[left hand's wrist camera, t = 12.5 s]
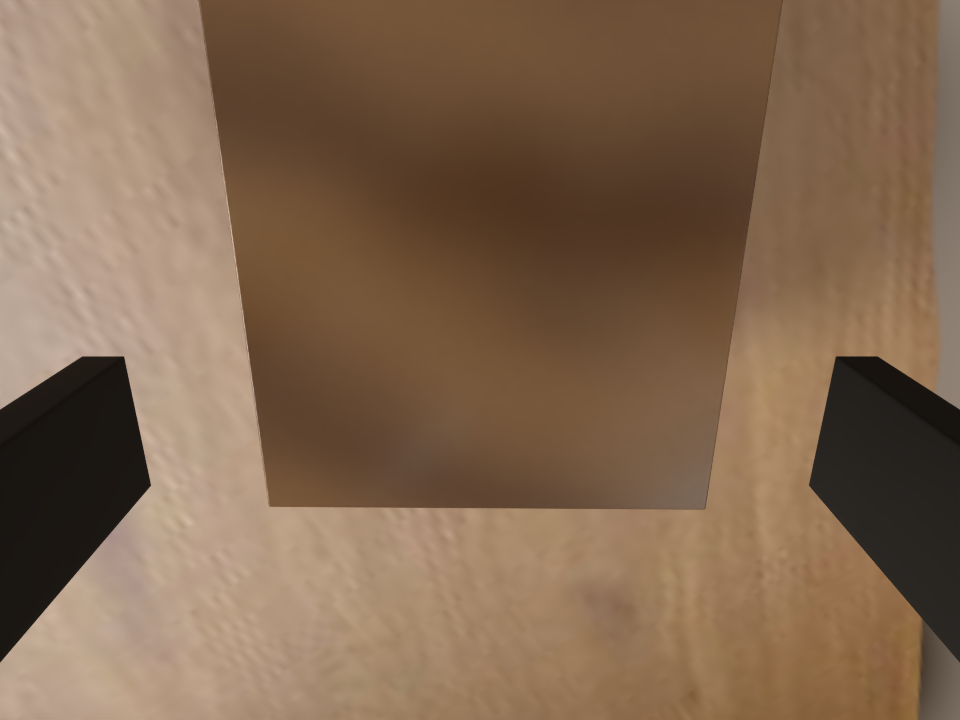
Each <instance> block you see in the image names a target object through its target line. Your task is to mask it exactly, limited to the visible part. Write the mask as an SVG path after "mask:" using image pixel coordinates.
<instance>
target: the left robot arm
mask: <svg viewBox="0 0 960 720" xmlns="http://www.w3.org/2000/svg"><path fill="white" fill-rule="evenodd" d="M150 486H151V483H150V478H149V474H148V469H147V464H146V459H145V455H144V450H143V445H142V440H141V435H140V431H139V426H138V421H137V416H136V412H135V407H134V402H133V397H132V392H131V388H130V383H129V378H128V373H127V369H126V364H125V359H124V357H81V358H79V359H78V360H76V361H75V362H73V363H72V364H70V365H69V366H67V367H65V368H64V369H62V370H61V371H59V372H58V373H56V374H55V375H53V376H52V377H50V378H48V379H47V380H45V381H44V382H42V383H41V384H39V385H38V386H36V387H35V388H33V389H31V390H30V391H28V392H27V393H25V394H24V395H22V396H21V397H19V398H18V399H16V400H14V401H13V402H11V403H10V404H8V405H7V406H5V407H4V408H2V409H1V410H0V662H1V661H2V660H3V659H4V657H5V656H6V655H7V654H8V653H9V651H10V650H11V649H12V648H13V647H14V646H15V644H16V643H17V642H18V641H19V640H20V639H21V637H22V636H23V635H24V634H25V633H26V632H27V630H28V629H29V628H30V627H31V626H32V624H33V623H34V622H35V621H36V620H37V619H38V617H39V616H40V615H41V614H42V613H43V612H44V610H45V609H46V608H47V607H48V606H49V605H50V603H51V602H52V601H53V600H54V599H55V598H56V596H57V595H58V594H59V593H60V592H61V590H62V589H63V588H64V587H65V586H66V585H67V583H68V582H69V581H70V580H71V579H72V578H73V576H74V575H75V574H76V573H77V572H78V571H79V569H80V568H81V567H82V566H83V565H84V563H85V562H86V561H87V560H88V559H89V558H90V556H91V555H92V554H93V553H94V552H95V551H96V549H97V548H98V547H99V546H100V545H101V544H102V542H103V541H104V540H105V539H106V538H107V537H108V535H109V534H110V533H111V532H112V531H113V529H114V528H115V527H116V526H117V525H118V524H119V522H120V521H121V520H122V519H123V518H124V517H125V515H126V514H127V513H128V512H129V511H130V510H131V508H132V507H133V506H134V505H135V504H136V502H137V501H138V500H139V499H140V498H141V497H142V495H143V494H144V493H145V492H146V491H147V490H148V488H149V487H150ZM809 486H810V487H811V488H812V490H813V491H814V492H815V493H816V494H817V495H818V497H819V498H820V499H821V500H822V501H823V502H824V504H825V505H826V506H827V507H828V508H829V510H830V511H831V512H832V513H833V514H834V515H835V517H836V518H837V519H838V520H839V521H840V522H841V524H842V525H843V526H844V527H845V528H846V529H847V531H848V532H849V533H850V534H851V535H852V537H853V538H854V539H855V540H856V541H857V542H858V544H859V545H860V546H861V547H862V548H863V549H864V551H865V552H866V553H867V554H868V555H869V556H870V558H871V559H872V560H873V561H874V562H875V563H876V565H877V566H878V567H879V568H880V569H881V571H882V572H883V573H884V574H885V575H886V576H887V578H888V579H889V580H890V581H891V582H892V583H893V585H894V586H895V587H896V588H897V589H898V590H899V592H900V593H901V594H902V595H903V596H904V598H905V599H906V600H907V601H908V602H909V603H910V605H911V606H912V607H913V608H914V609H915V610H916V612H917V613H918V614H919V615H920V616H921V617H922V619H923V620H924V621H925V622H926V623H927V624H928V626H929V627H930V628H931V629H932V630H933V632H934V633H935V634H936V635H937V636H938V637H939V639H940V640H941V641H942V642H943V643H944V644H945V646H946V647H947V648H948V649H949V650H950V651H951V653H952V654H953V655H954V656H955V657H956V658H957V660H958V661H959V662H960V410H959V409H958V408H956V407H955V406H953V405H952V404H950V403H949V402H947V401H946V400H944V399H942V398H941V397H939V396H938V395H936V394H935V393H933V392H932V391H930V390H929V389H927V388H925V387H924V386H922V385H921V384H919V383H918V382H916V381H915V380H913V379H912V378H910V377H908V376H907V375H905V374H904V373H902V372H901V371H899V370H898V369H896V368H895V367H893V366H891V365H890V364H888V363H887V362H885V361H884V360H882V359H881V358H879V357H836V359H835V364H834V369H833V373H832V378H831V383H830V388H829V392H828V397H827V402H826V407H825V412H824V416H823V421H822V426H821V431H820V435H819V440H818V445H817V450H816V455H815V459H814V464H813V469H812V474H811V478H810V483H809Z"/></svg>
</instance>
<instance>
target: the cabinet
mask: <svg viewBox="0 0 960 720" xmlns="http://www.w3.org/2000/svg"><path fill="white" fill-rule="evenodd" d="M782 2H783V0H199V6H200V13H201V20H202V28H203V35H204V42H205V49H206V56H207V64H208V71H209V78H210V85H211V92H212V100H213V107H214V114H215V121H216V129H217V136H218V143H219V150H220V157H221V165H222V172H223V179H224V186H225V194H226V201H227V208H228V215H229V222H230V230H231V237H232V244H233V251H234V258H235V266H236V273H237V280H238V287H239V295H240V302H241V309H242V316H243V323H244V331H245V338H246V345H247V352H248V359H249V367H250V374H251V381H252V388H253V396H254V403H255V410H256V417H257V424H258V432H259V439H260V446H261V453H262V461H263V468H264V475H265V482H266V489H267V497H268V504H269V506H270V507H395V508H553V509H705V507H706V501H707V494H708V488H709V481H710V475H711V468H712V462H713V455H714V448H715V442H716V435H717V429H718V422H719V416H720V409H721V402H722V396H723V389H724V383H725V376H726V370H727V363H728V356H729V350H730V343H731V337H732V330H733V324H734V317H735V311H736V304H737V297H738V291H739V284H740V278H741V271H742V265H743V258H744V251H745V245H746V238H747V232H748V225H749V219H750V212H751V205H752V199H753V192H754V186H755V179H756V173H757V166H758V159H759V153H760V146H761V140H762V133H763V127H764V120H765V114H766V107H767V100H768V94H769V87H770V81H771V74H772V68H773V61H774V54H775V48H776V41H777V35H778V28H779V22H780V15H781V8H782Z"/></svg>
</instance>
